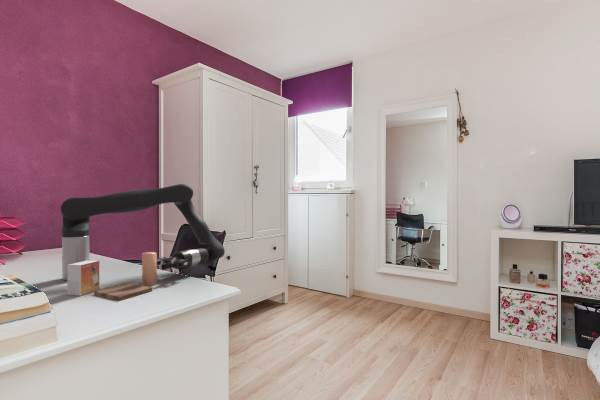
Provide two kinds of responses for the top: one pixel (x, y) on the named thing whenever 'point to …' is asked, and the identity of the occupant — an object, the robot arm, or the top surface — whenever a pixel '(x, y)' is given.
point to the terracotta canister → (149, 268)
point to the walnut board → (123, 291)
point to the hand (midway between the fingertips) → (154, 266)
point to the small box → (83, 277)
